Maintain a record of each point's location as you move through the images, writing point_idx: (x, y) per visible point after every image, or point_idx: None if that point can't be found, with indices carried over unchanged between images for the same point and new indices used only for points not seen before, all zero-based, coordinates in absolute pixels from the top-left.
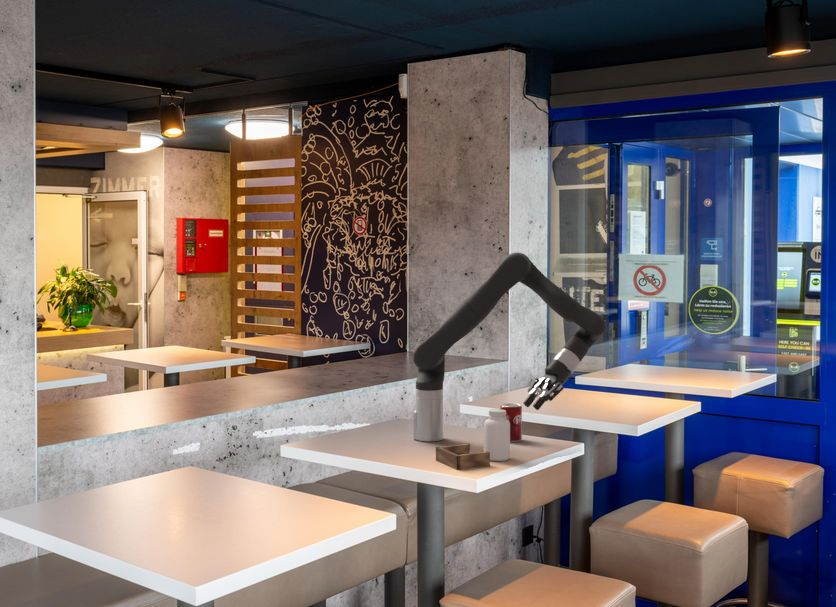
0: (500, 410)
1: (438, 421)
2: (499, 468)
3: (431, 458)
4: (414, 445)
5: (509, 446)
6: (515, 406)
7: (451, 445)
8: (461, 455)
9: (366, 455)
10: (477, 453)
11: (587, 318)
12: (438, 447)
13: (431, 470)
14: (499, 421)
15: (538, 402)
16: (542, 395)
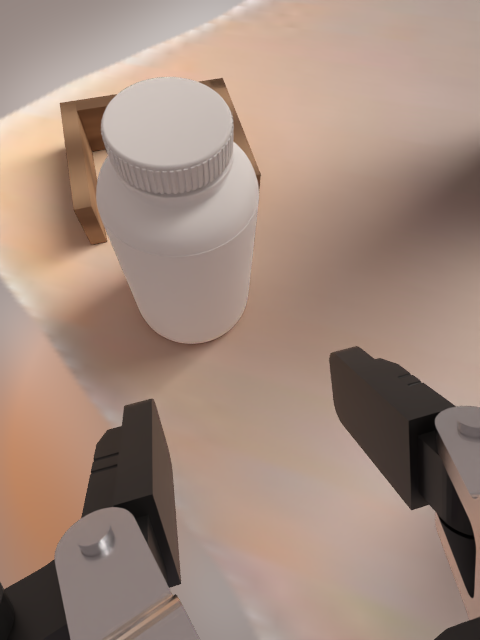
0: (162, 135)
1: None
2: (35, 264)
3: (251, 114)
4: (449, 106)
5: (152, 312)
6: None
7: (238, 121)
8: (62, 116)
9: (318, 2)
10: (71, 166)
11: None
12: (216, 83)
13: (96, 90)
14: (107, 167)
15: (113, 460)
16: (84, 539)
